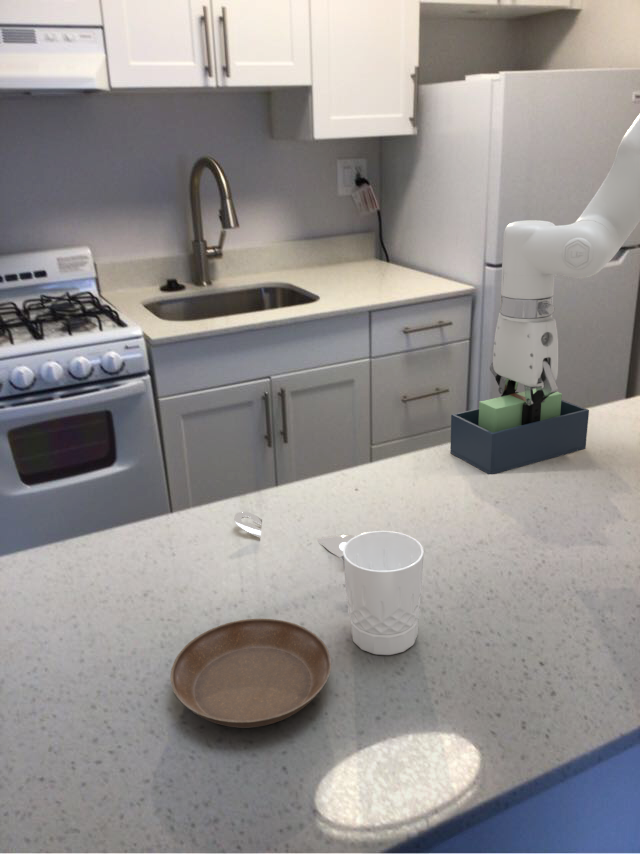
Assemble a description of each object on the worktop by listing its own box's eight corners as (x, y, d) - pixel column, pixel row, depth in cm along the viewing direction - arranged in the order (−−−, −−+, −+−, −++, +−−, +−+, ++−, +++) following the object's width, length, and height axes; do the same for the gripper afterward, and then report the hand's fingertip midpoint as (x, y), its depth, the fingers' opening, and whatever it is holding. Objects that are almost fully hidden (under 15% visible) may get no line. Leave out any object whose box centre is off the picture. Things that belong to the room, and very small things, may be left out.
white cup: (331, 643, 77) (327, 557, 73) (370, 604, 83) (368, 523, 79) (400, 669, 72) (399, 580, 69) (435, 626, 78) (437, 542, 75)
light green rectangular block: (560, 420, 120) (562, 393, 118) (494, 437, 114) (496, 408, 113) (542, 413, 123) (543, 386, 122) (477, 429, 118) (478, 401, 116)
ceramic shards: (224, 507, 97) (246, 492, 101) (225, 531, 99) (247, 516, 102) (357, 555, 87) (377, 537, 91) (356, 581, 89) (376, 562, 92)
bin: (541, 429, 129) (544, 392, 126) (585, 448, 120) (589, 409, 118) (450, 453, 121) (451, 414, 118) (490, 475, 112) (492, 434, 110)
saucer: (265, 620, 81) (263, 599, 80) (365, 686, 70) (364, 663, 69) (143, 688, 71) (139, 664, 70) (237, 775, 61) (234, 749, 60)
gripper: (587, 313, 107) (577, 434, 113) (508, 295, 121) (503, 403, 127) (546, 321, 104) (538, 444, 110) (470, 301, 118) (467, 411, 124)
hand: (519, 421), depth 119 cm, fingers open, 4 cm apart
